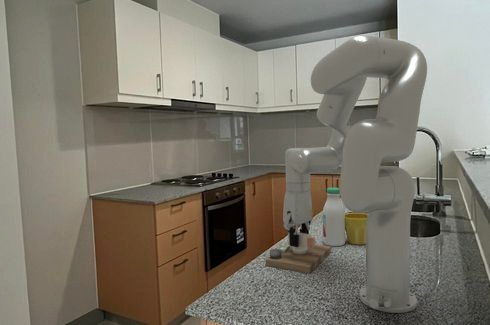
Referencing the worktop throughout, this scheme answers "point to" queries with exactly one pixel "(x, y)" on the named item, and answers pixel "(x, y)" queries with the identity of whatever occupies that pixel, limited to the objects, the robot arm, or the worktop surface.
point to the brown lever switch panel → (297, 258)
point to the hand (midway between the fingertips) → (299, 243)
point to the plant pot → (356, 227)
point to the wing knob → (303, 243)
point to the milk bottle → (333, 219)
